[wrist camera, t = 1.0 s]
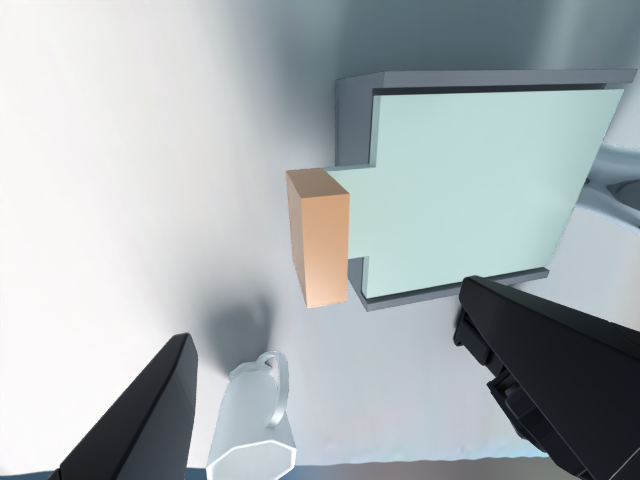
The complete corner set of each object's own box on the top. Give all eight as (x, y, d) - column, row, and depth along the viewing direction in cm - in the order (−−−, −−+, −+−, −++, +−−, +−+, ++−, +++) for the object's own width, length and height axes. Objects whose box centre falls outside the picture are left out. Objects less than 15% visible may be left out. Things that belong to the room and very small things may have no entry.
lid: (607, 89, 15) (718, 87, 12) (538, 260, 21) (600, 294, 17) (279, 98, 12) (295, 99, 8) (296, 302, 17) (309, 357, 13)
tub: (518, 77, 20) (638, 68, 14) (475, 234, 26) (546, 277, 20) (335, 79, 18) (384, 70, 11) (334, 255, 24) (367, 311, 17)
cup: (203, 394, 28) (189, 495, 21) (242, 320, 25) (241, 409, 18) (268, 402, 30) (275, 492, 23) (310, 336, 27) (333, 418, 20)
